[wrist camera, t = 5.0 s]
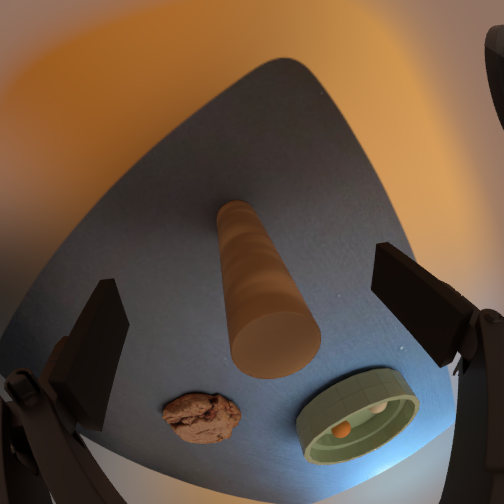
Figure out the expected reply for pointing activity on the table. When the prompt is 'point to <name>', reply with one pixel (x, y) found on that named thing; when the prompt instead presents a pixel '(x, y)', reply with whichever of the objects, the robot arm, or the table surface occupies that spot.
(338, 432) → the orange ball
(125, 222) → the table surface
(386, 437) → the bowl
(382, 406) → the cream ball
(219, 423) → the cookie
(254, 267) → the stick
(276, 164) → the table surface
